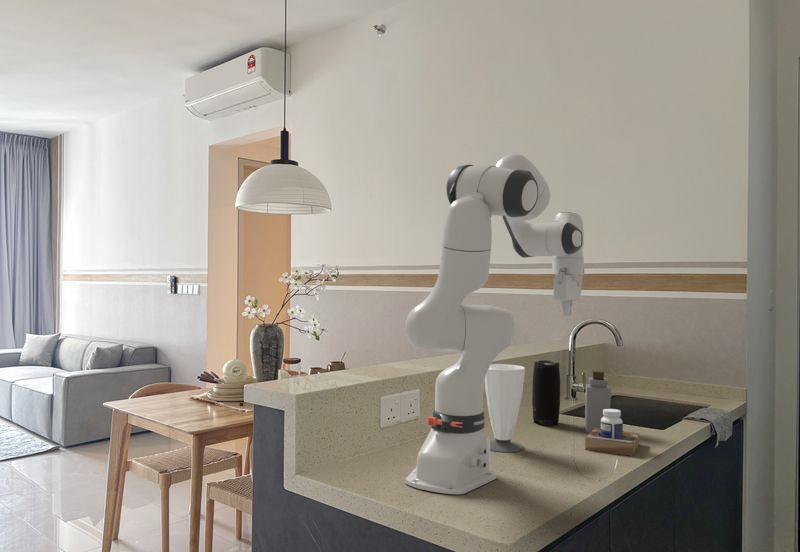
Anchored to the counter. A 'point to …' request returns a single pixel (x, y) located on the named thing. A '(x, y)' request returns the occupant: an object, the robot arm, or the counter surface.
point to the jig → (612, 443)
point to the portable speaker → (546, 392)
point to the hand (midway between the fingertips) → (567, 315)
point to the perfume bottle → (596, 400)
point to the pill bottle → (612, 424)
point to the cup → (504, 404)
